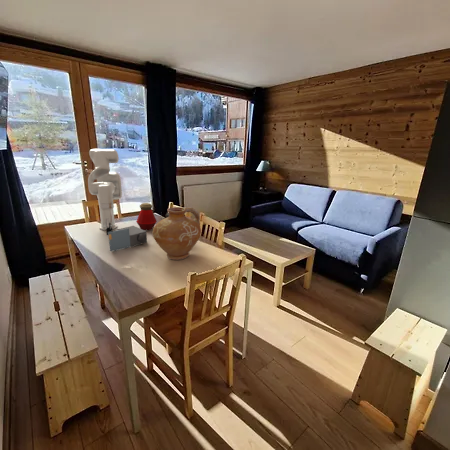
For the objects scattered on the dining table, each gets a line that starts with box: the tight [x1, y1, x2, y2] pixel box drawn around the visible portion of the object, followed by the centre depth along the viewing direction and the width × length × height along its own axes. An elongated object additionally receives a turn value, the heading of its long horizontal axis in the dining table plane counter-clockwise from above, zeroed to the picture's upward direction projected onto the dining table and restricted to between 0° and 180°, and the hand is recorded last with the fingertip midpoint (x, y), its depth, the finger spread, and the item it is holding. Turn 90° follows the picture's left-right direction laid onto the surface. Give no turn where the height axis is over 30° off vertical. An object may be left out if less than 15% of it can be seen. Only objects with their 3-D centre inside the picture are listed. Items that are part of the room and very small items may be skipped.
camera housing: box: [117, 225, 148, 248], centre depth 169 cm, size 18×12×8 cm, turn 50°
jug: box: [152, 206, 202, 261], centre depth 148 cm, size 28×28×30 cm
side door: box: [107, 228, 131, 252], centre depth 155 cm, size 12×2×12 cm, turn 130°
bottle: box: [135, 202, 158, 231], centre depth 193 cm, size 16×14×20 cm
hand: (109, 234), depth 153 cm, fingers closed
